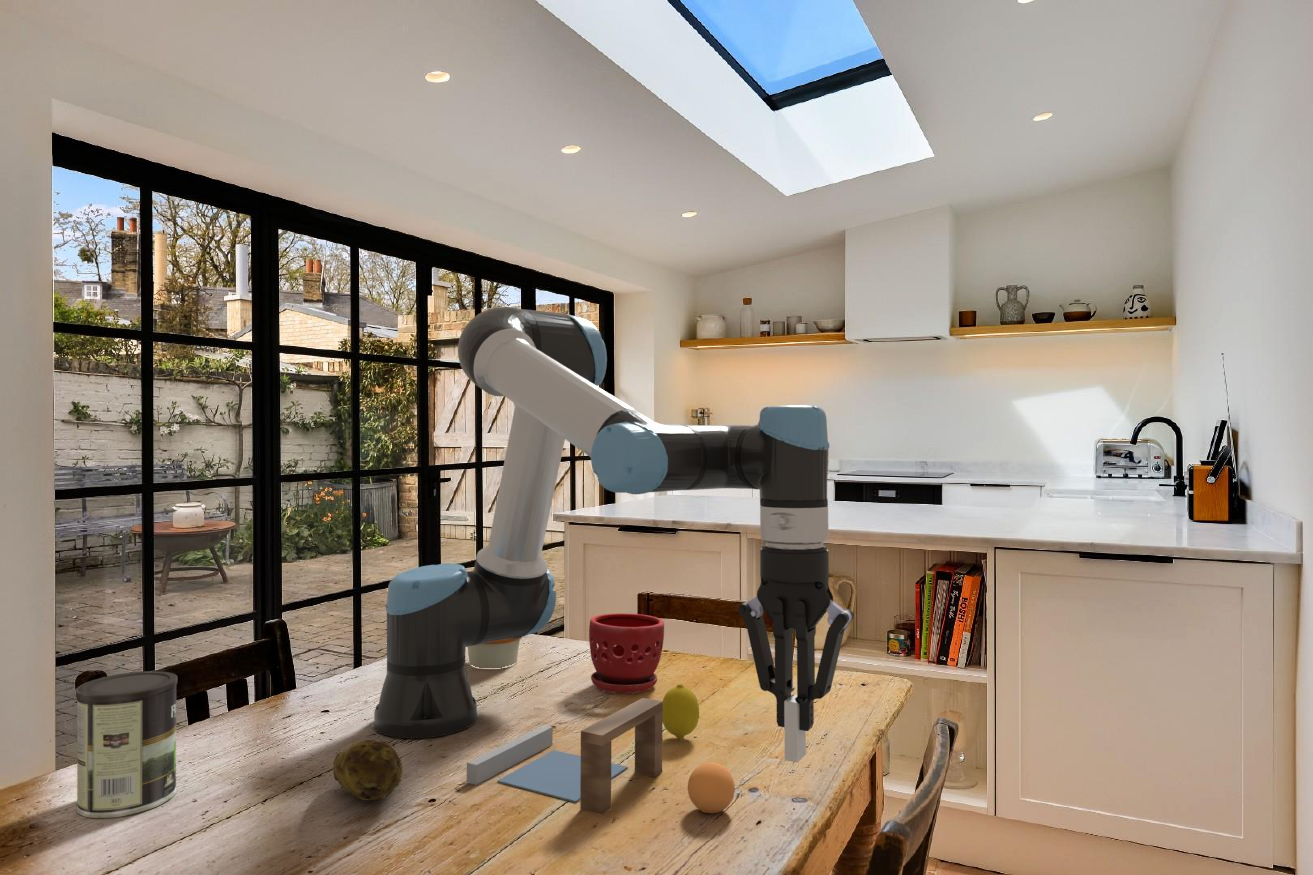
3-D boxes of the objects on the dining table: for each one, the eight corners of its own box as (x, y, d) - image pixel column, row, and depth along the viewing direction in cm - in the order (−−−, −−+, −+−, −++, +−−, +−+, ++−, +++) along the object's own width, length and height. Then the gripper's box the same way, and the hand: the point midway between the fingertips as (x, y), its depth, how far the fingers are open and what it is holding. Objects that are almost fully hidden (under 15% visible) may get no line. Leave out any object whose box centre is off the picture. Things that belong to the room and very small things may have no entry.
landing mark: (497, 781, 106) (497, 780, 106) (553, 751, 116) (553, 749, 116) (575, 802, 100) (575, 800, 100) (627, 768, 110) (627, 766, 110)
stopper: (466, 782, 106) (466, 762, 106) (543, 742, 120) (543, 724, 120) (476, 784, 105) (476, 764, 105) (552, 744, 119) (552, 726, 119)
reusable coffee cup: (506, 651, 170) (507, 578, 170) (538, 665, 160) (538, 586, 160) (449, 661, 162) (449, 584, 162) (478, 676, 152) (478, 594, 152)
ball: (679, 814, 97) (679, 767, 97) (700, 797, 102) (700, 751, 102) (722, 825, 94) (722, 776, 94) (742, 807, 99) (742, 760, 99)
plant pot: (639, 703, 138) (639, 630, 138) (574, 690, 144) (574, 621, 144) (677, 683, 149) (677, 616, 149) (615, 672, 156) (615, 608, 156)
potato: (403, 776, 107) (403, 713, 107) (402, 820, 95) (402, 749, 95) (334, 783, 105) (334, 719, 105) (323, 829, 93) (324, 757, 93)
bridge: (580, 809, 98) (580, 730, 98) (642, 767, 111) (642, 697, 111) (601, 815, 97) (602, 735, 97) (662, 771, 109) (662, 701, 109)
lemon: (695, 747, 118) (696, 690, 118) (657, 744, 119) (657, 688, 119) (701, 733, 123) (702, 679, 123) (664, 731, 124) (665, 677, 124)
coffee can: (163, 775, 107) (164, 665, 107) (187, 800, 100) (188, 682, 100) (67, 799, 100) (67, 681, 100) (84, 828, 93) (85, 701, 93)
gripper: (726, 544, 93) (727, 757, 93) (841, 551, 87) (843, 780, 86) (752, 538, 99) (753, 737, 99) (861, 544, 93) (862, 756, 93)
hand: (795, 757), depth 93 cm, fingers closed
